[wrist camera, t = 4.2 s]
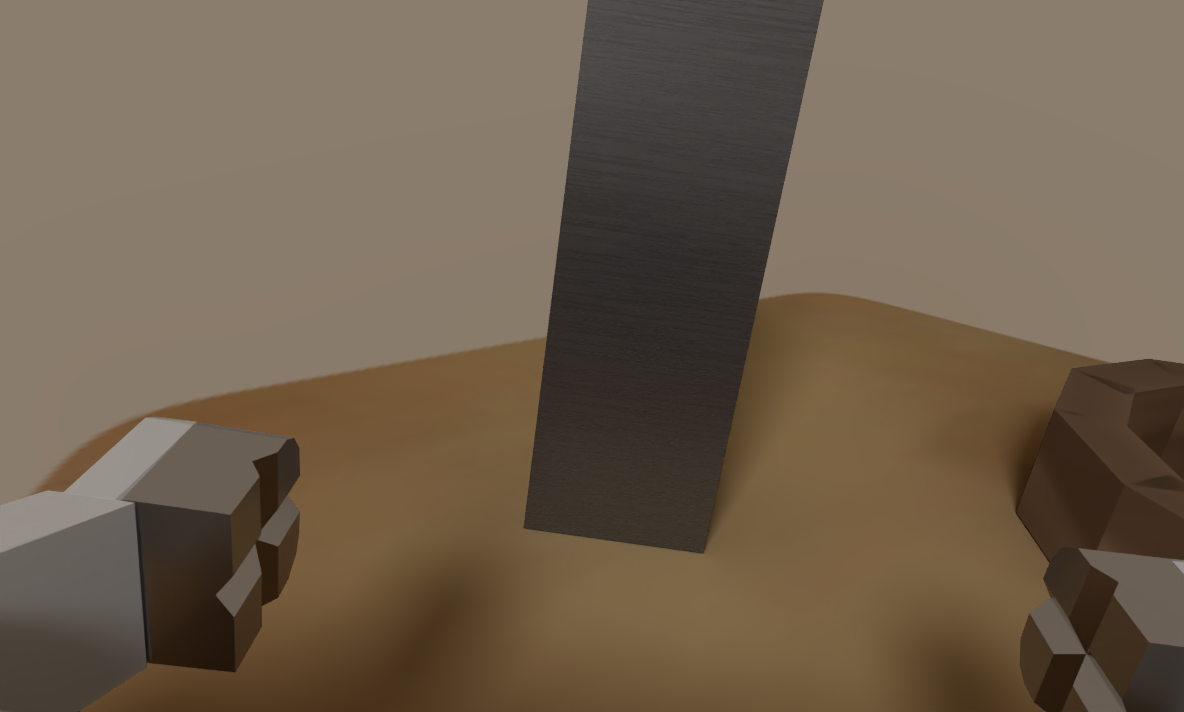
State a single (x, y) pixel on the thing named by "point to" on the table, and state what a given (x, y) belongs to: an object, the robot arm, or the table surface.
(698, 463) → the metal peg
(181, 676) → the table surface
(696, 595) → the table surface
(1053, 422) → the walnut ring
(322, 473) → the table surface
